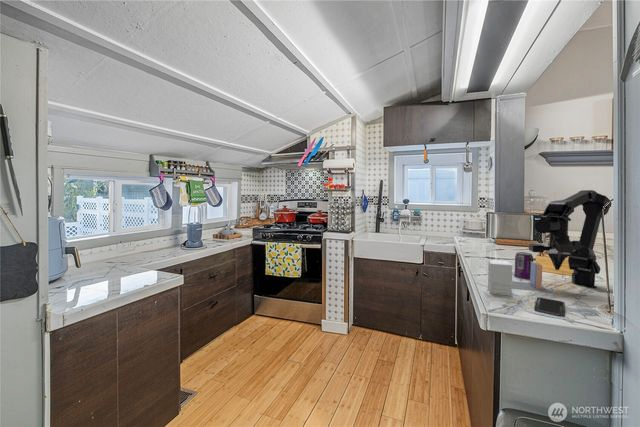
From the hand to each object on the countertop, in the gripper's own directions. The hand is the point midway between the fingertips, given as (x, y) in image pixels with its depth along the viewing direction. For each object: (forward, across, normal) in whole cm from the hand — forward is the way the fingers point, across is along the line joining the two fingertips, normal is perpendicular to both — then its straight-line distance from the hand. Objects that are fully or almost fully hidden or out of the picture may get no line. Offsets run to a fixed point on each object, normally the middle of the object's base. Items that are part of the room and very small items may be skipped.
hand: (557, 269), depth 116 cm
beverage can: (+9, -7, +16) cm, 20 cm away
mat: (+8, -11, 0) cm, 14 cm away
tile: (+8, -7, 0) cm, 11 cm away
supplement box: (+9, -23, -12) cm, 27 cm away
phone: (+9, -10, -23) cm, 27 cm away
